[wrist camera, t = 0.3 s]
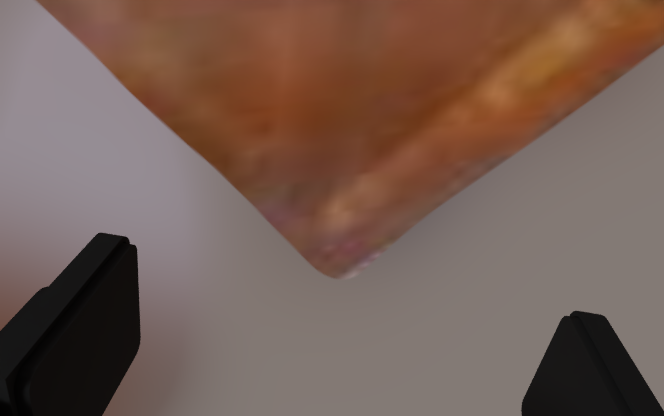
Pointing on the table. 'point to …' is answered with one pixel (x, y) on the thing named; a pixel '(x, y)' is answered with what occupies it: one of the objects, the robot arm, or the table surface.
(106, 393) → the robot arm
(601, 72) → the table surface
